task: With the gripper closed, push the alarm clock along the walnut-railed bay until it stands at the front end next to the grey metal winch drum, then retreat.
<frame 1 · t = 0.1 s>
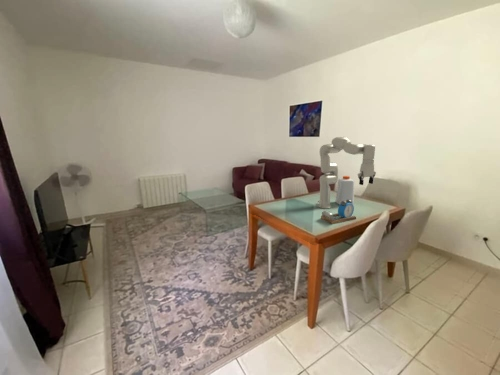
hand: (366, 184, 169), 31 cm above the table, fingers open, 9 cm apart
plastic bottle: (344, 203, 225), on the table
winch: (327, 221, 181), on the table
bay: (339, 218, 186), on the table
alarm clock: (345, 217, 188), on the table
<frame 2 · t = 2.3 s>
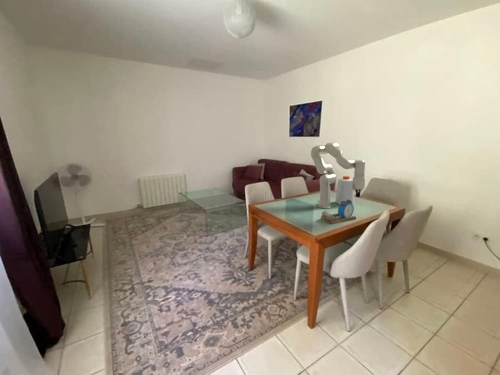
hand: (357, 196, 187), 17 cm above the table, fingers closed
nothing on the table moved.
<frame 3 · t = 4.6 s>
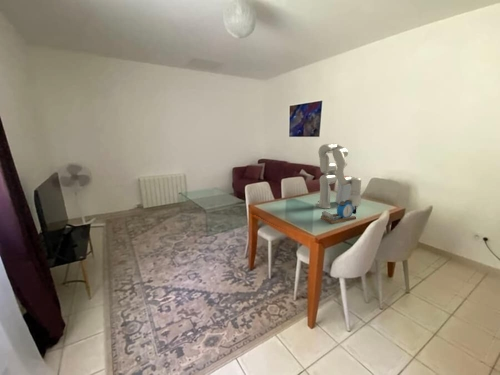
hand: (353, 213, 190), 2 cm above the table, fingers closed
alarm clock: (344, 217, 187), on the table, touching gripper
everything else where it was.
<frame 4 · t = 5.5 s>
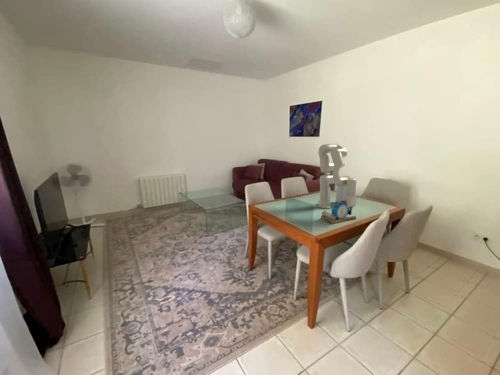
hand: (349, 214, 188), 2 cm above the table, fingers closed
alarm clock: (339, 218, 186), on the table, touching gripper
everything else where it was.
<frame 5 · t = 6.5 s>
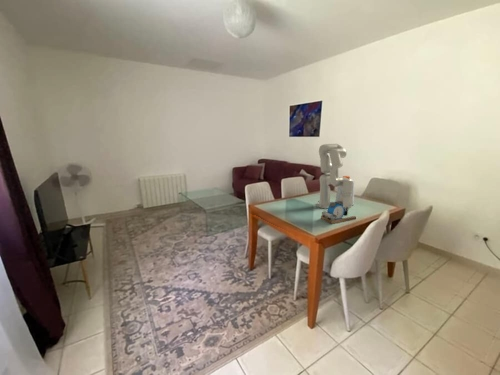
hand: (345, 215, 186), 2 cm above the table, fingers closed
alarm clock: (335, 219, 184), on the table, touching gripper, winch
everything else where it was.
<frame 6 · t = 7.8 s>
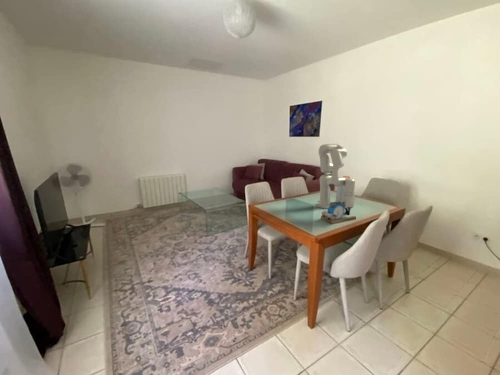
hand: (347, 214, 188), 2 cm above the table, fingers closed
alarm clock: (335, 219, 184), on the table
everything else where it was.
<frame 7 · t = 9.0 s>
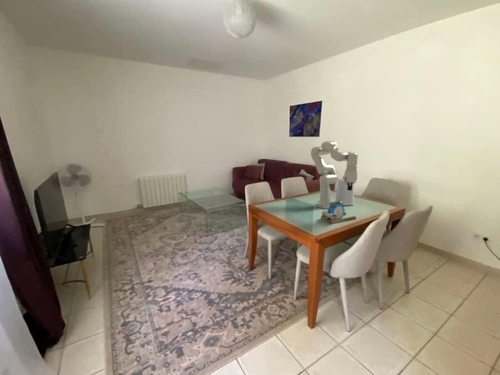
hand: (349, 190, 184), 23 cm above the table, fingers closed
nothing on the table moved.
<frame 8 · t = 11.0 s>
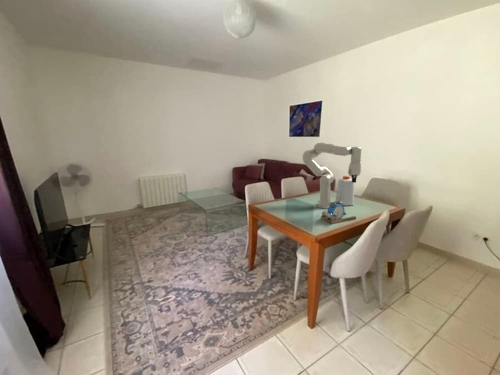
hand: (353, 182, 195), 27 cm above the table, fingers closed
nothing on the table moved.
at the end: alarm clock inside the target area (0.5 cm from its centre), on the table; alarm clock tilted 0° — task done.
